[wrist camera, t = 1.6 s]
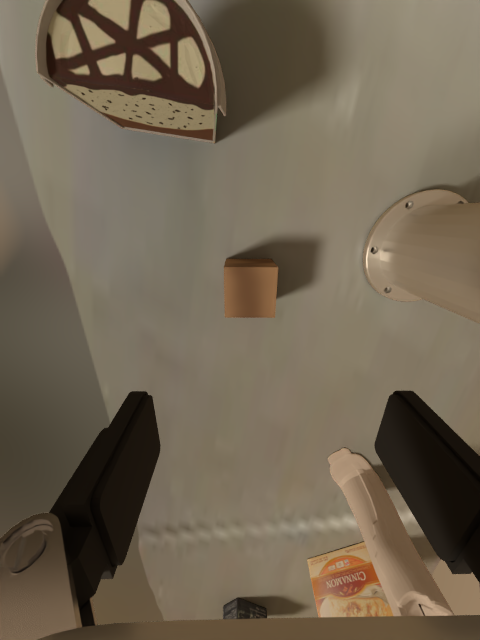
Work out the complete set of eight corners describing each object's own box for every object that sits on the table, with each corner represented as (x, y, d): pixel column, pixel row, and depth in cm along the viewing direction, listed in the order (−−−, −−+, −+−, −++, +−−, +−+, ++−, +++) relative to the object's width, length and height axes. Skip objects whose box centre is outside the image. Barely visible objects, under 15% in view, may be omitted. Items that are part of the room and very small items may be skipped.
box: (267, 607, 66) (272, 674, 57) (252, 616, 68) (254, 681, 58) (237, 596, 63) (237, 664, 54) (222, 605, 65) (219, 672, 56)
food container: (236, 67, 23) (236, -36, 13) (229, 145, 25) (224, 104, 16) (101, 43, 22) (2, -83, 13) (107, 126, 24) (27, 71, 15)
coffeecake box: (367, 539, 54) (433, 701, 36) (377, 554, 56) (443, 713, 38) (305, 558, 56) (337, 717, 38) (317, 571, 59) (352, 727, 41)
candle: (353, 442, 42) (444, 618, 23) (385, 484, 46) (482, 660, 28) (316, 459, 43) (375, 637, 25) (350, 498, 48) (421, 674, 30)
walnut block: (271, 258, 30) (278, 267, 25) (268, 301, 32) (274, 317, 27) (226, 258, 30) (223, 267, 24) (226, 301, 32) (224, 317, 27)
